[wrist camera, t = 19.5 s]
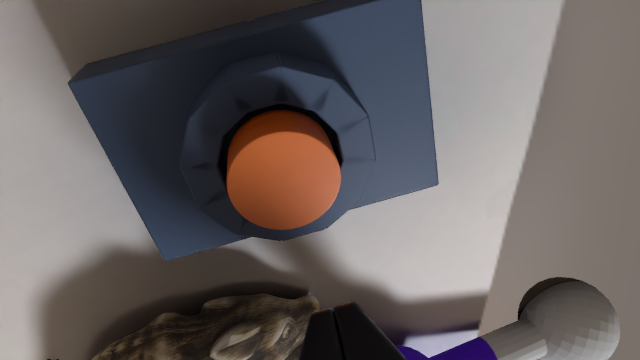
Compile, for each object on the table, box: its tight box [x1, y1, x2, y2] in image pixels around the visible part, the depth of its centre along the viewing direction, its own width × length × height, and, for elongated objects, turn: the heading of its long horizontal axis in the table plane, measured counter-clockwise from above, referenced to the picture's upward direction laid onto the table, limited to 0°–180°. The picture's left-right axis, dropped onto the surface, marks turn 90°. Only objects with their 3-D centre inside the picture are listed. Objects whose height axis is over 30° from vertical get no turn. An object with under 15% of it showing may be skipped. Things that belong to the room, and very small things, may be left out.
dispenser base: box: [68, 0, 438, 261], centre depth 17 cm, size 12×8×4 cm, turn 103°
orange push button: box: [227, 110, 341, 230], centre depth 15 cm, size 4×4×2 cm
